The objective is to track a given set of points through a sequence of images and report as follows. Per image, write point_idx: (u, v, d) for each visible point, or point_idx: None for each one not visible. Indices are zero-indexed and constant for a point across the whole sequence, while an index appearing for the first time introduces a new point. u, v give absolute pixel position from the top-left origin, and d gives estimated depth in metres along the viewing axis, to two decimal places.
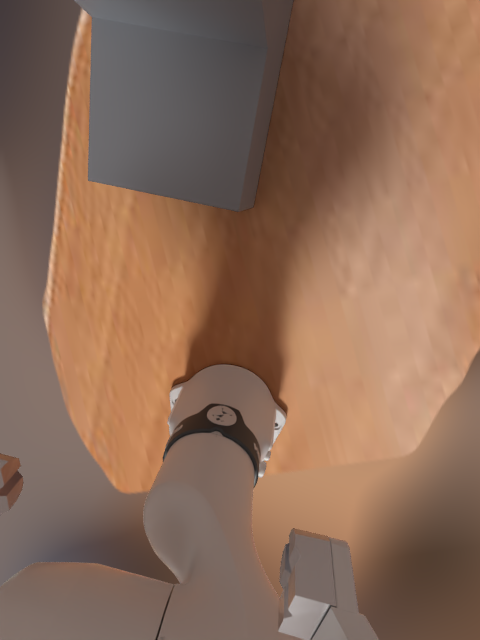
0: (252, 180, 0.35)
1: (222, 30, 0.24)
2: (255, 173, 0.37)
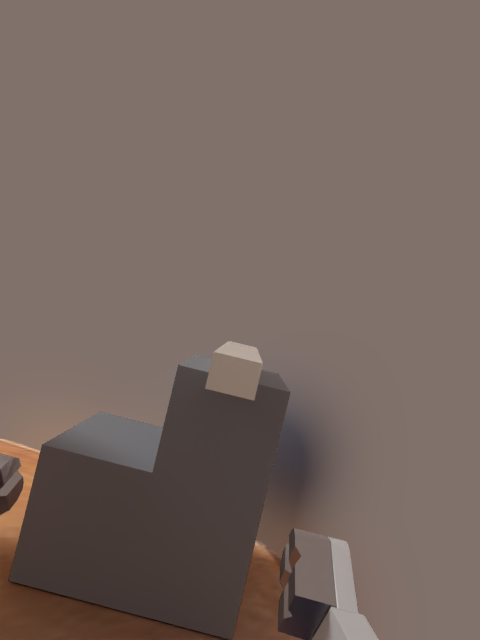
0: (52, 517, 0.35)
1: None
2: (55, 536, 0.35)
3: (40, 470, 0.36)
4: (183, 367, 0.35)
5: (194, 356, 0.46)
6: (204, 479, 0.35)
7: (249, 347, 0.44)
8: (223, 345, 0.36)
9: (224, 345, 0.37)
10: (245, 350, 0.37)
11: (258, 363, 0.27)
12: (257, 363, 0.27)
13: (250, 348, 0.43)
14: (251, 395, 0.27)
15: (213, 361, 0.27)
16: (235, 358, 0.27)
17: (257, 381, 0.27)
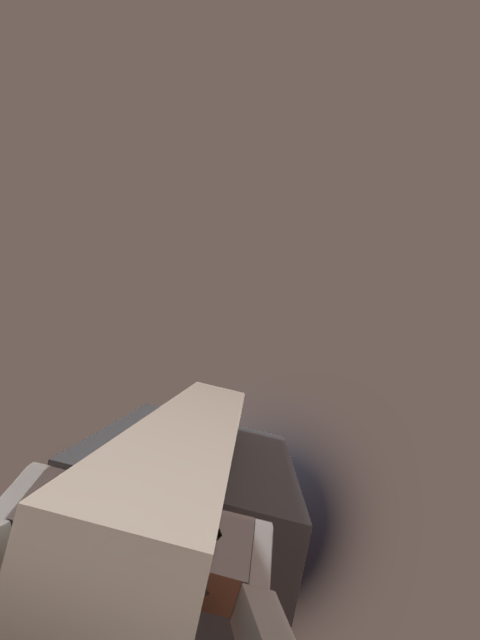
0: None
1: None
2: None
3: None
4: (60, 465, 0.15)
5: (132, 412, 0.26)
6: None
7: (229, 397, 0.24)
8: (157, 409, 0.16)
9: (161, 408, 0.17)
10: (208, 419, 0.17)
11: (194, 554, 0.07)
12: (190, 554, 0.07)
13: (229, 401, 0.22)
14: None
15: (15, 544, 0.07)
16: (102, 531, 0.07)
17: (190, 632, 0.06)
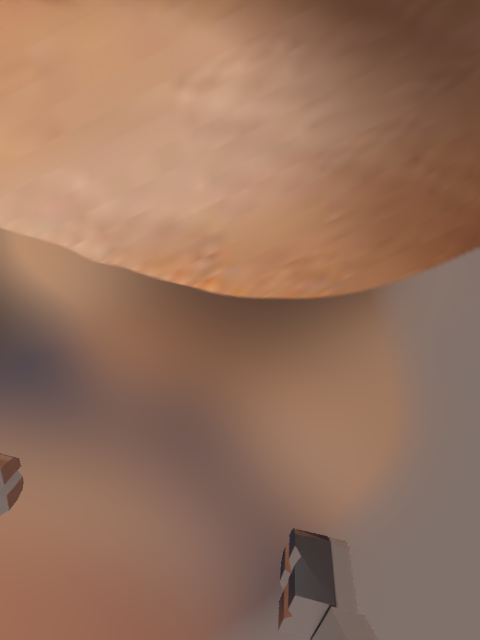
0: None
1: None
2: None
3: None
4: None
5: None
6: None
7: None
8: None
9: None
10: None
11: None
12: None
13: None
14: None
15: None
16: None
17: None
